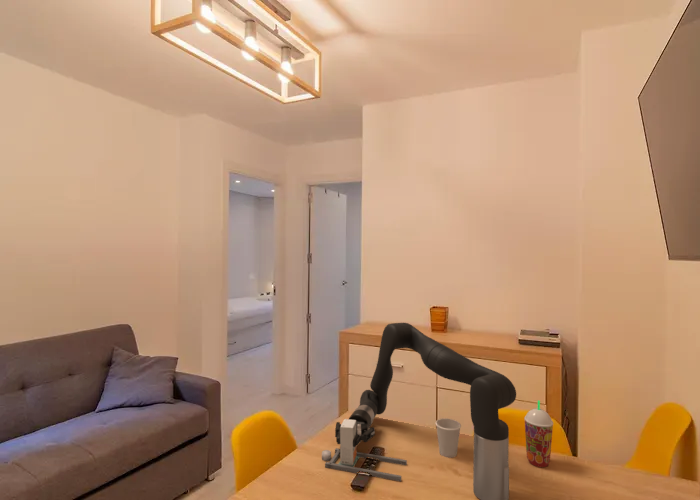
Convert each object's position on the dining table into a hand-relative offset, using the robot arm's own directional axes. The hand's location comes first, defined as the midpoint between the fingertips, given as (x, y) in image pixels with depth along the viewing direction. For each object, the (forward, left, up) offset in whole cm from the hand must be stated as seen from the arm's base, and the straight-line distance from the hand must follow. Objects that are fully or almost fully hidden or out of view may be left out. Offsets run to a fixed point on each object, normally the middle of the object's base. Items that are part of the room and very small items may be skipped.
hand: (346, 442), depth 126 cm
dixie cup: (-30, -19, -8) cm, 36 cm away
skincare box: (0, -3, -7) cm, 8 cm away
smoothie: (-58, -22, -8) cm, 62 cm away
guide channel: (-4, -3, -8) cm, 9 cm away
